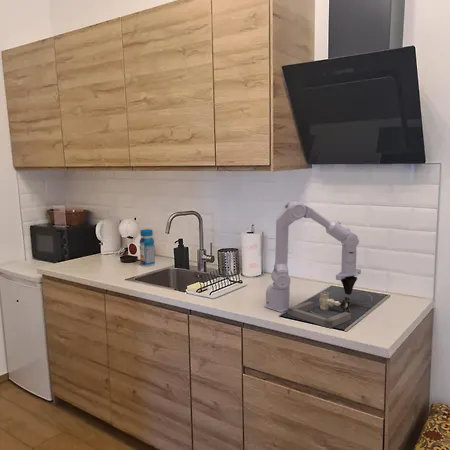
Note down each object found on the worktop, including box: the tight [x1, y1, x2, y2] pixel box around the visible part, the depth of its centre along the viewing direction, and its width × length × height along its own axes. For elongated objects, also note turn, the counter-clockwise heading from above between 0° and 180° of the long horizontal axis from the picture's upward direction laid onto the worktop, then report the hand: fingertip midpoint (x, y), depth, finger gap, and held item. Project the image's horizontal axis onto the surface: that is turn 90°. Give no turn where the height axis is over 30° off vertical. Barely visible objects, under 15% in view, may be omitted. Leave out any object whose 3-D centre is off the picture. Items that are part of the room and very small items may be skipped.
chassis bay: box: [287, 300, 352, 329], centre depth 181 cm, size 20×13×2 cm, turn 41°
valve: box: [319, 291, 352, 313], centre depth 188 cm, size 7×7×12 cm
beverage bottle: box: [139, 228, 156, 267], centre depth 268 cm, size 8×8×20 cm
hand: (348, 294), depth 193 cm, fingers closed
